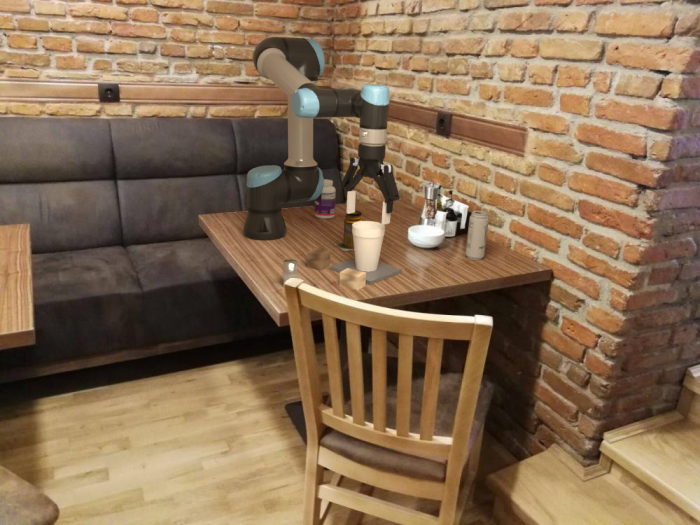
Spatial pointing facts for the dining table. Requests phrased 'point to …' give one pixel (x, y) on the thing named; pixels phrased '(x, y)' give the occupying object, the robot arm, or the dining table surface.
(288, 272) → the metal shaker
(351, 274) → the beech block
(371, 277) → the slate board
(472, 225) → the energy drink can
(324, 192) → the pill bottle
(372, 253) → the foam cup
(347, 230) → the condiment
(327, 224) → the dining table surface
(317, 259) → the brown cube
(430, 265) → the dining table surface
